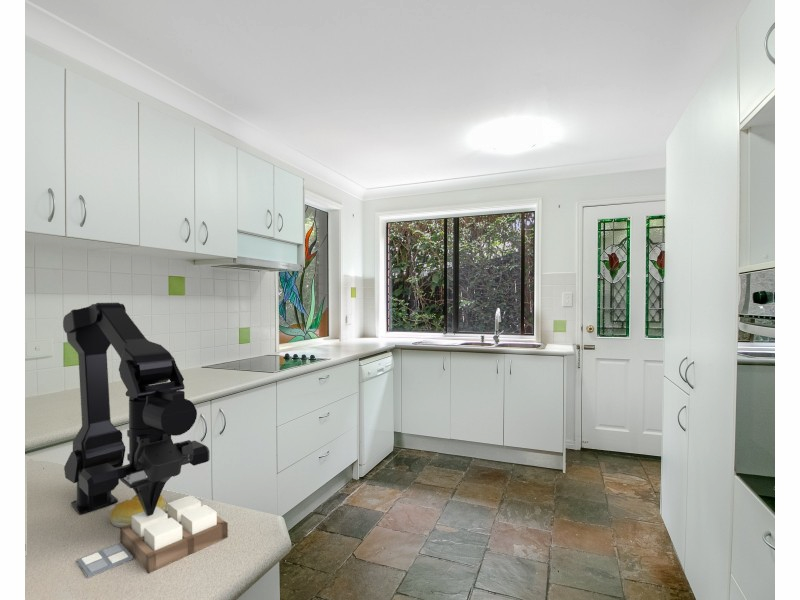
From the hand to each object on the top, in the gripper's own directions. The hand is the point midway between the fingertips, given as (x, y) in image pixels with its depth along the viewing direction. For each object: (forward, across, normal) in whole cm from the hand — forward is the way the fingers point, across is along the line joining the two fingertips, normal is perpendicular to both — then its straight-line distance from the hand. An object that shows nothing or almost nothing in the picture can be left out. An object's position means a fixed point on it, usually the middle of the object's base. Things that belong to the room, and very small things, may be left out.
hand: (149, 514), depth 74 cm
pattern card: (+4, -7, 0) cm, 8 cm away
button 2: (+3, 0, -6) cm, 7 cm away
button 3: (+3, +6, 0) cm, 7 cm away
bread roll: (+5, +2, +11) cm, 12 cm away
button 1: (+3, 0, 0) cm, 3 cm away
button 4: (+3, +6, -6) cm, 9 cm away
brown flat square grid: (+4, +3, -3) cm, 6 cm away
